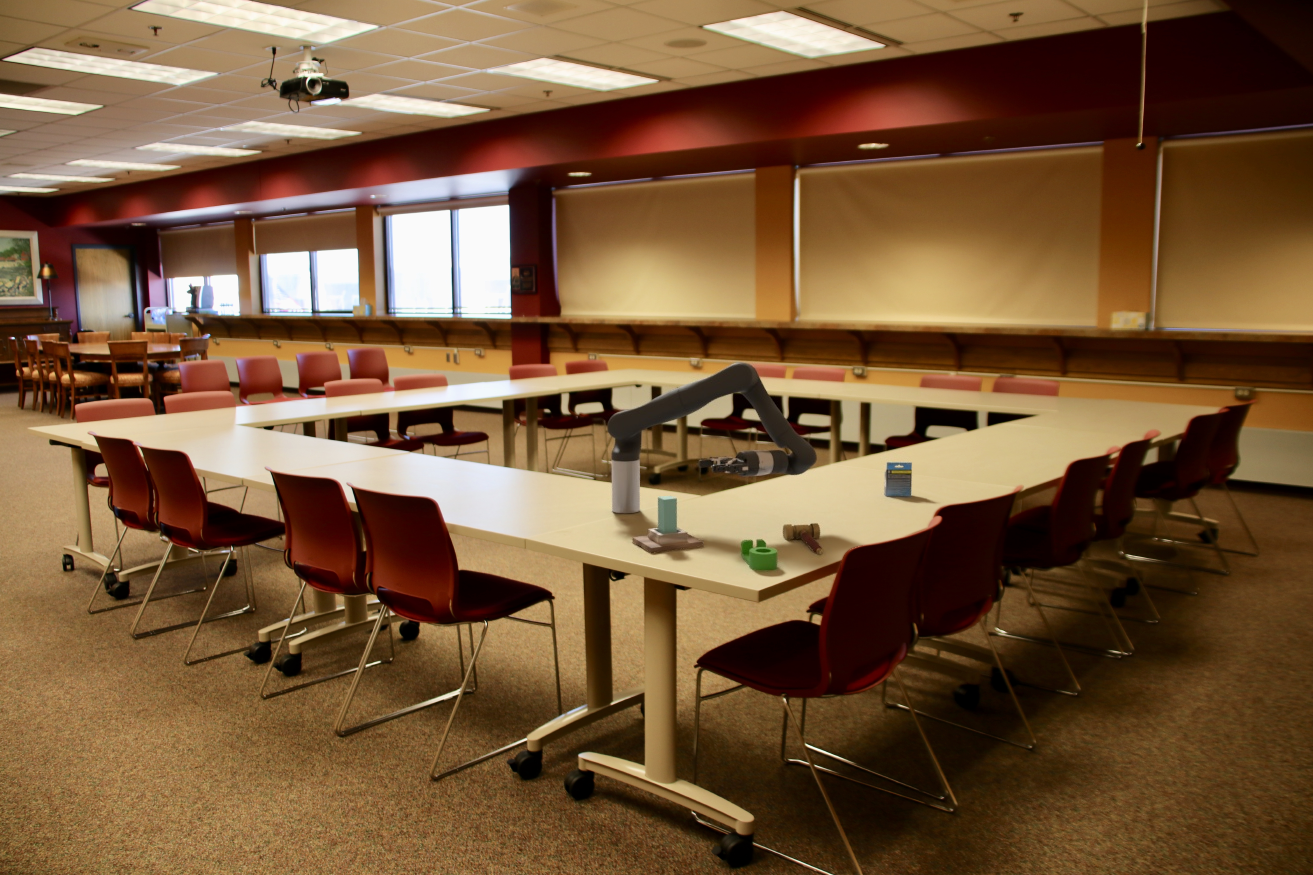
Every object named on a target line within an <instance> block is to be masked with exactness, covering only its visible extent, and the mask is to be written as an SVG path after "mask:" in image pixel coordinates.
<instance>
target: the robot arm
mask: <svg viewBox="0 0 1313 875" xmlns="http://www.w3.org/2000/svg"><path fill="white" fill-rule="evenodd" d="M736 393H740V394H741V395H743V397H744V398H745V399H746V400H747V401H748V402H749V404H751V406H752V407H753V410H755V412H756V414H757V416H758V418H759V420H760V422H761V424H762V426H763V428H764V430H765V431H766V433H767V435H769V437H770V438H771V439H772V441H773V442H774V443H775V445H776V446H777V447H778V448H779V449H770V450H766V449H765V450H763V449H762V450H761V449H757V450H755V449H753V450H740V451H738V453H736V456H735V457H734V456H727V455H725V456H710V457H709V458H707V459H699V460H698V467H699V468H711V472H712V474H713V473H715V474H716V473H726V474H730V475H734V474H738V475H739V476H740V477H755V476H756V477H757V476H765V475H769V474H771V475H772V474H783V475H787V476H798V475H802V474H804V473H806V472H807V471H808V470H809V469H810V468H811V467H813V466H814V465H815V464H816V463H817V457H818V456H817V452H816V451H815V449H814V447H813V446H812V444H810V443H809V442H808V441H807V440H806V439H804V438H803V437H802V436H801V435H800V434H799V433H797V431H795V429H794V428H793V426H792V424H790V423H789V421H788V420H787V418H786V417H785V416H784V415H783V413H782V411H781V410H780V409H779V408H778V407H777V405H776V404H775V402H774V401H773V399H772V398H771V396H770V395H769V392H768V391H767V389H766V387H765V385H764V383H763V381H762V379H761V377H760V376H759V373H758V371H757V369H756V368H755V366H753V365H751V364H750V363H746V362H742V361H741V362H735V363H731V364H730V365H728V366H726V367H725V368H723V369H721V370H719V371H718V372H716V373H714V374H711V375H710V376H707V377H705V378H702V379H699V380H698V379H697V380H695V381H692V382H690V383H689V382H688V383H686V384H684V385H681V386H679V387H677V388H674V389H672V390H669V391H667V392H665V393H663V394H661V395H659V396H656V397H655V398H653V399H651V400H650V401H648V402H646V403H644V404H643V405H640V406H636V407H634V408H630V409H627V410H626V409H625V410H621V411H618V412H616V413H614V414H613V415H612V416H611V417H610V418H609V420H608V422H607V424H606V425H607V426H606V427H607V432H608V434H609V435H610V436H611V437H612V439H614V445H613V449H612V451H611V453H610V454H611V455H610V456H611V459H610V460H611V510H612V512H613V513H617V514H635V513H637V512H638V513H639V512H640V511H641V507H640V506H641V486H640V484H641V483H640V482H641V481H640V480H641V473H640V471H641V470H640V463H641V462H640V456H641V454H640V453H641V450H642V440H643V439H642V434H643V433H642V432H643V431H644V430H645V429H648V428H650V427H653V426H658V425H661V424H665V423H669V422H672V421H675V420H678V419H681V418H684V417H685V416H688V415H690V414H693V413H695V412H698V411H699V410H701V409H702V408H704V407H705V406H707V405H709V404H710V403H711V402H713V401H715V400H717V399H719V398H722V397H726V396H729V395H732V394H736ZM784 448H787V449H788V450H789V451H791V453H789V454H787V453H786V452H785V451H784V450H781V449H784Z"/></svg>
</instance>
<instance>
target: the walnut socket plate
mask: <svg viewBox="0 0 1313 875" xmlns="http://www.w3.org/2000/svg"><path fill="white" fill-rule="evenodd" d="M632 543H633V544H634V545H636V544H637V546H638V545H639V546H638V547H640V546H641V547H642V549H643V548H644V550H645V549H646V550H647V551H646V550H645V551H646V552H648V551H649V552H648V553H650V552H651V553H650V554H655V553H654V552H657V553H664V552H665V553H666V552H672V550H673V551H679V550H680V549H681V550H688V549H695V548H702V547H703V548H704V540H701V539H699V538H697V537H695V536H693V535H691V534H689V533H688V532H687V531H686V530H683V529H681V528H679V527H678V526H677V533H668V534H661V533H659V532H658V527H656V528H655V527H653V528H648V529H647V535H640V536H633V537H632ZM641 547H640V548H641Z"/></svg>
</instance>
